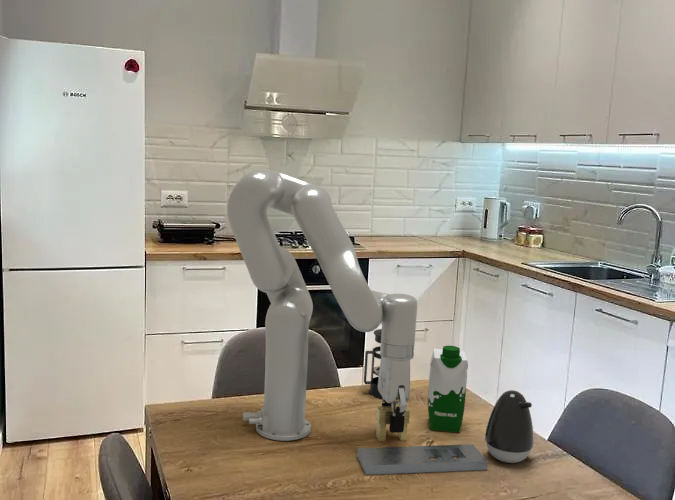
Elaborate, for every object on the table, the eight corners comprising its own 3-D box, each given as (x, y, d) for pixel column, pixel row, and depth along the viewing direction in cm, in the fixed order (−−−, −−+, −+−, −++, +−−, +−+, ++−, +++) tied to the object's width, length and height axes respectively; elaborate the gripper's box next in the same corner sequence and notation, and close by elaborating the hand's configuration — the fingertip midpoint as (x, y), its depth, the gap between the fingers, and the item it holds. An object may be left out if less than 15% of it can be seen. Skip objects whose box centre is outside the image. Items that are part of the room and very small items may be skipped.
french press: (400, 387, 188) (406, 306, 185) (410, 399, 179) (416, 315, 176) (359, 387, 186) (364, 306, 183) (367, 400, 177) (372, 314, 173)
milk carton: (426, 431, 159) (432, 349, 156) (425, 416, 168) (431, 338, 165) (464, 434, 158) (471, 352, 155) (461, 419, 167) (467, 341, 164)
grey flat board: (365, 475, 136) (366, 465, 135) (357, 457, 143) (357, 448, 143) (486, 469, 141) (487, 460, 140) (472, 452, 149) (472, 444, 148)
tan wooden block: (377, 441, 152) (379, 411, 151) (374, 435, 155) (376, 406, 154) (407, 440, 153) (409, 410, 152) (403, 434, 156) (406, 405, 155)
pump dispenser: (505, 472, 140) (512, 402, 138) (473, 451, 149) (479, 385, 147) (542, 464, 145) (549, 396, 143) (509, 444, 154) (515, 380, 152)
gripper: (371, 338, 159) (367, 411, 161) (391, 361, 142) (386, 442, 145) (402, 338, 160) (397, 410, 163) (425, 361, 143) (419, 441, 146)
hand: (392, 424), depth 154 cm, fingers open, 6 cm apart
